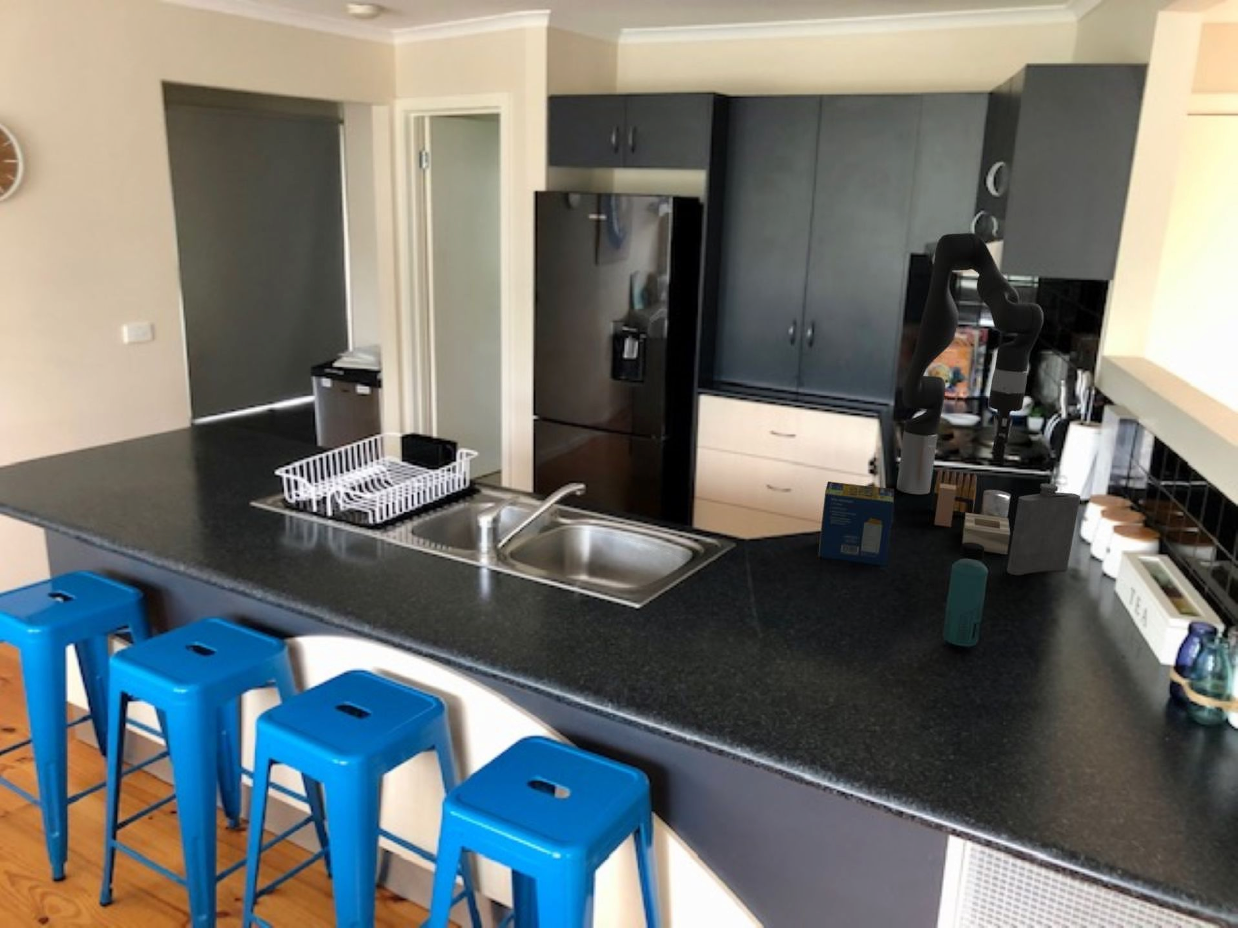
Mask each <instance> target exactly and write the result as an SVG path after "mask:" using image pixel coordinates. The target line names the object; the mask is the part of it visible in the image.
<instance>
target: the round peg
mask: <svg viewBox="0 0 1238 928" xmlns="http://www.w3.org/2000/svg"><path fill="white" fill-rule="evenodd" d="M1011 496H1012V495H1011V494H1010V493H1008V492H1005V491H1002V490H997V489H986V490H984V491H983V495H982V500H981V502H982V503H981V508H980V514H979V515H986V516H993V517H1000V518H1007V519H1008V515H1009V509H1010V501H1011Z"/></svg>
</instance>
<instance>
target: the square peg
mask: <svg viewBox="0 0 1238 928" xmlns="http://www.w3.org/2000/svg"><path fill="white" fill-rule="evenodd" d="M956 485H957V484H955V485H950V484H949V485H948V484H943V483H942V484H940V488H939V495H938V502H937V509H936V512H935V517H934V518H935V519H934V525H935V526H941V527H948V528H951V527H952V521H953V516H954V515H953V508H954V501H955V494H956Z"/></svg>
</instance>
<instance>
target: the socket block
mask: <svg viewBox="0 0 1238 928" xmlns="http://www.w3.org/2000/svg"><path fill="white" fill-rule="evenodd" d="M1010 536H1011V530H1010V523H1009V518H1008V517H1007V518H1000V517H993V516H986V515H980V514H977V513H973V514H971V513H966V514H965V517H964V522H963V529H962V544H963V543H965V542H973V543H978V544H980V545H982V546H984V552H987V553H995V554H1001V555H1008V550H1009V542H1010V538H1011V537H1010Z"/></svg>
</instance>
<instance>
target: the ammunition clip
mask: <svg viewBox="0 0 1238 928" xmlns="http://www.w3.org/2000/svg"><path fill="white" fill-rule="evenodd" d="M949 471H950V470H949V468H947V469H946V470H945V473H944V477H943V470H942V467H940V468H939V469H938V472H937V475H936V479H935V480H936V481H935V484H934V491H933V496H932V497H933V498H932V502H931V506H930V511H931V512H934V513H936V509H937V502H938V495H939V488H940V484H948V485H956V494H955V501H954V508H953V515H952V516H957V517H962V516H963V518H965V514H966V513H971V514H975V513H974V511H975V510H974V509H975V502H976V501H975V500H976V494H977V483H978V482H977V474H976V473H974V474H973V476H972V480H971V483H970V479H971V477H970V476H971V475H970V472H967V473H966V475H965V477H964V475H963V474H964V473H963V471H962V470H961V471H960V472H959V475H958V477H957V472H956V470H955V469H954V470H953V472H952V474H951V477H950V472H949ZM942 479H943V480H942ZM956 479H957V481H956ZM963 479H964V482H963ZM949 480H950V482H949ZM942 481H943V482H942Z"/></svg>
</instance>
